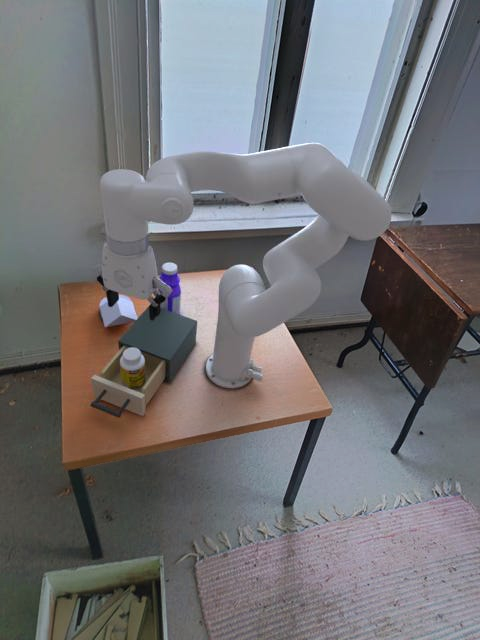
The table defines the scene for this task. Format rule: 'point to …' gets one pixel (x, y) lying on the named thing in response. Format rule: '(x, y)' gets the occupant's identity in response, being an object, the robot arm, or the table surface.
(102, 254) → the robot arm
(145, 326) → the cabinet
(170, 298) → the bottle
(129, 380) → the supplement bottle
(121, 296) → the wedge on round base
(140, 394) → the drawer
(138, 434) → the table surface
